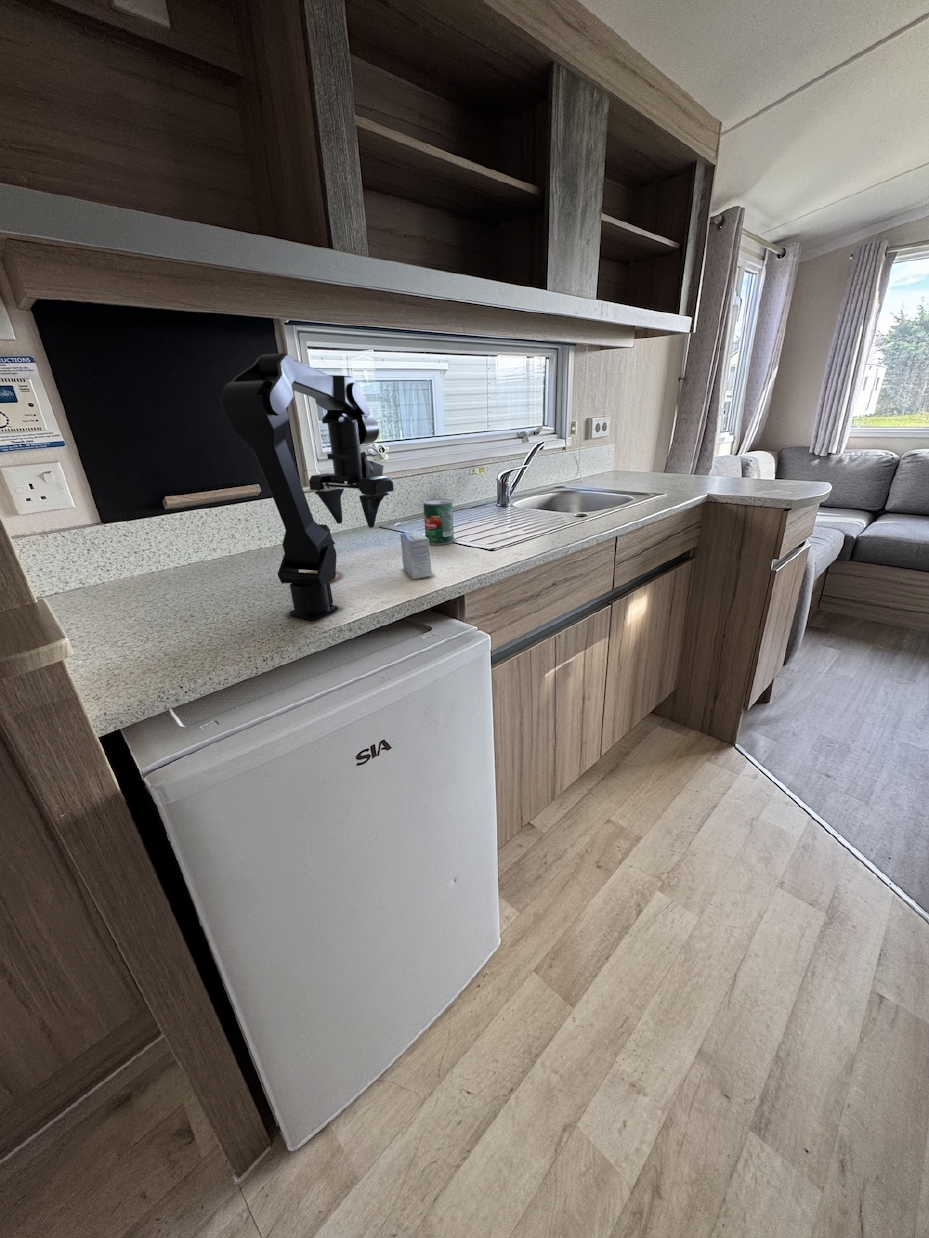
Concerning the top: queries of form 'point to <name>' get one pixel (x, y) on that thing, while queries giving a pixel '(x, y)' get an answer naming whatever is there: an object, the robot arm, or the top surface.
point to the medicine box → (416, 554)
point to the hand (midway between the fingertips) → (355, 525)
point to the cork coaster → (330, 581)
